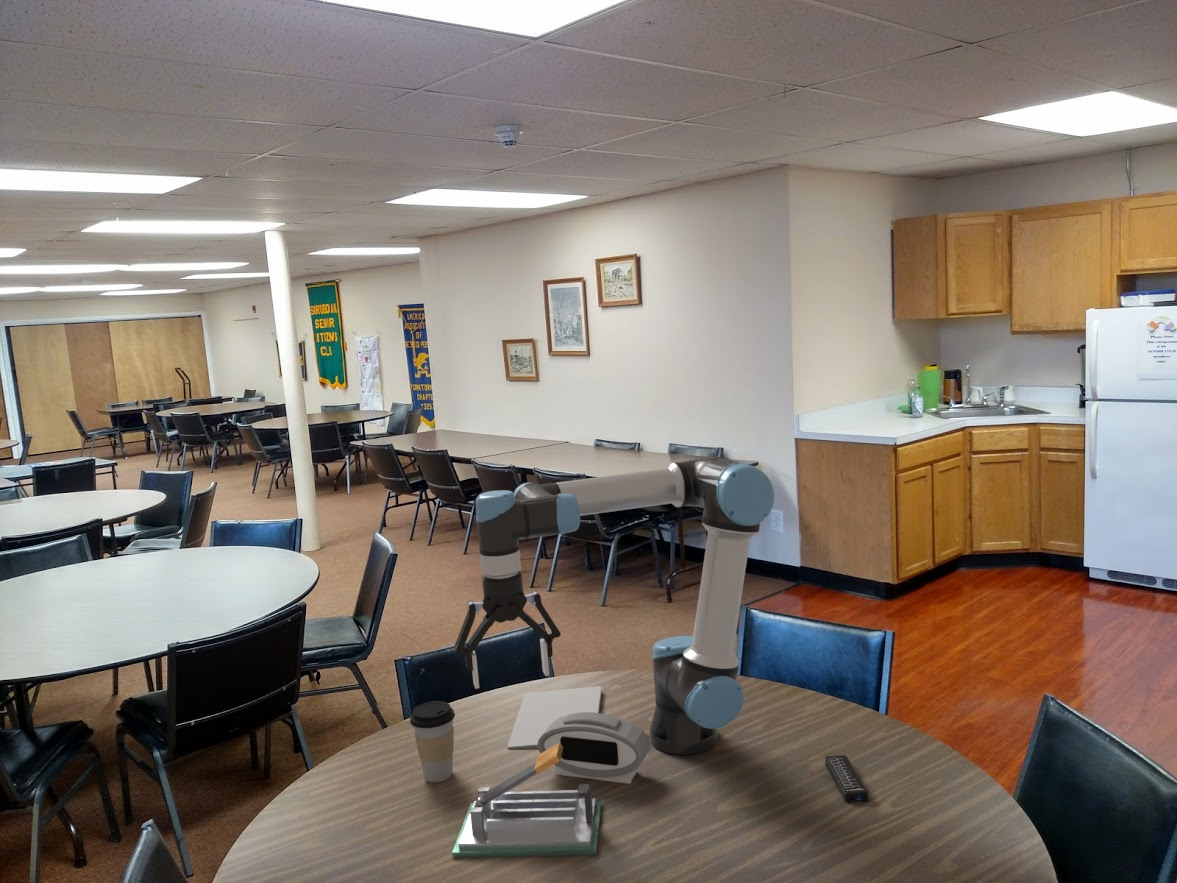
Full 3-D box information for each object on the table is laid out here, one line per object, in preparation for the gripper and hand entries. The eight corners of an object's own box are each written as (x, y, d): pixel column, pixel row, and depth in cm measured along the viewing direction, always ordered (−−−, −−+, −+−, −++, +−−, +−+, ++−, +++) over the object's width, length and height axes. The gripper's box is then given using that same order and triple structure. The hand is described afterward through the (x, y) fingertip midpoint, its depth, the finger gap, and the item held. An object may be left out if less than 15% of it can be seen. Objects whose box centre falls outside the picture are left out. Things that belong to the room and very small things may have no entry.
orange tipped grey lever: (564, 749, 162) (559, 742, 162) (562, 763, 157) (556, 755, 157) (482, 799, 165) (476, 792, 165) (476, 814, 160) (471, 806, 160)
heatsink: (601, 804, 169) (598, 766, 168) (596, 854, 153) (592, 812, 152) (471, 807, 171) (467, 769, 170) (452, 857, 156) (448, 815, 154)
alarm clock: (539, 774, 182) (534, 717, 181) (550, 760, 188) (545, 704, 186) (644, 788, 174) (640, 728, 173) (652, 772, 180) (648, 714, 178)
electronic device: (595, 748, 193) (594, 739, 193) (507, 750, 194) (506, 742, 194) (602, 693, 221) (601, 686, 221) (525, 696, 223) (524, 688, 222)
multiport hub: (846, 765, 178) (846, 754, 178) (869, 803, 164) (868, 792, 164) (825, 766, 178) (824, 756, 178) (845, 805, 164) (845, 793, 164)
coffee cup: (451, 787, 179) (444, 719, 177) (408, 785, 181) (401, 718, 179) (466, 764, 189) (460, 699, 187) (426, 763, 191) (419, 698, 189)
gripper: (561, 558, 170) (569, 661, 173) (433, 577, 164) (444, 683, 166) (570, 568, 162) (578, 675, 165) (437, 588, 156) (448, 699, 159)
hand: (511, 679), depth 166 cm, fingers open, 13 cm apart
